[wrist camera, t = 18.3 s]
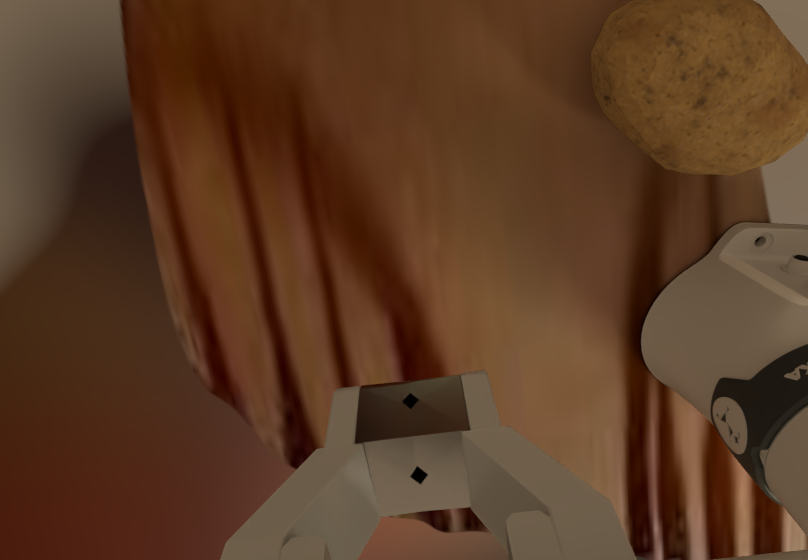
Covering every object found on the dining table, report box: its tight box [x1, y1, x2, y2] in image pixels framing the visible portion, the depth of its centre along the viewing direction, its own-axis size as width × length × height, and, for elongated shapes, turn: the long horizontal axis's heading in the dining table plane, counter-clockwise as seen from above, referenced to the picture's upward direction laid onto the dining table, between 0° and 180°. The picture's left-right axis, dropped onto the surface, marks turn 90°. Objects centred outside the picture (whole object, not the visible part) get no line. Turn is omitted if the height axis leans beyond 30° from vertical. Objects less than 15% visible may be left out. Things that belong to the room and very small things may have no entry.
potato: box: [590, 0, 808, 176], centre depth 31 cm, size 10×14×8 cm
